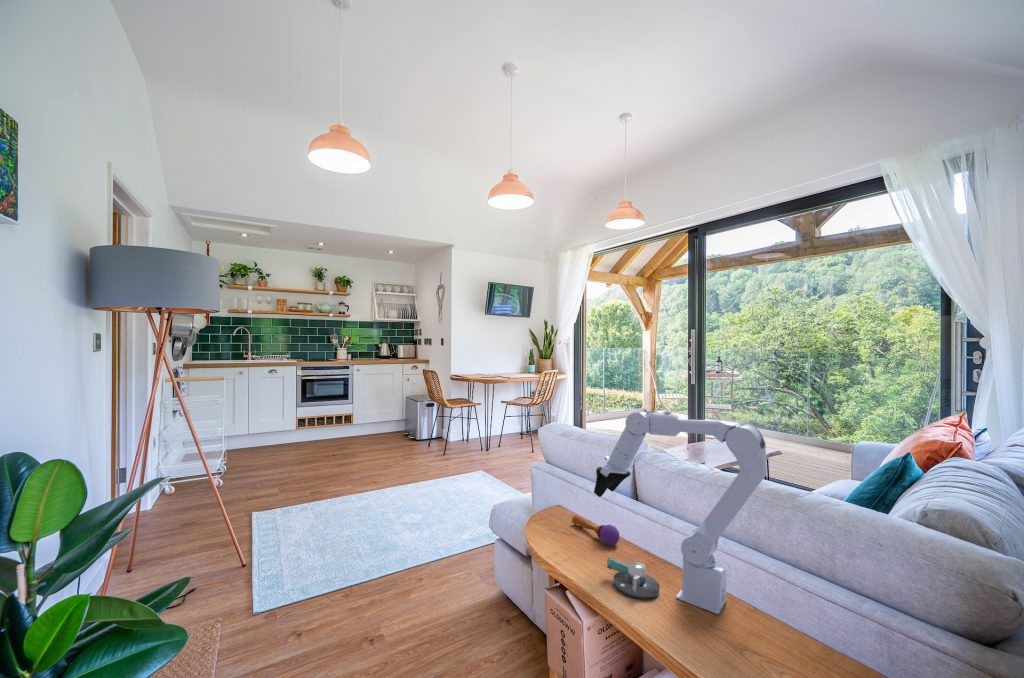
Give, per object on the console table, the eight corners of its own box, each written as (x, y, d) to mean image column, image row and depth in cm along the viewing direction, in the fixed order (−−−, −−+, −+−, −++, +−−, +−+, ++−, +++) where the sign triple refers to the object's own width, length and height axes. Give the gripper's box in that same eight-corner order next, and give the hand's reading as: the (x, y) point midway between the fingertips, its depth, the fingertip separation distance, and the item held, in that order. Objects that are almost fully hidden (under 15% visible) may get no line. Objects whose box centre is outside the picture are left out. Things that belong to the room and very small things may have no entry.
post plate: (665, 587, 107) (666, 569, 107) (649, 605, 98) (650, 585, 99) (624, 572, 114) (625, 555, 114) (605, 587, 105) (606, 569, 106)
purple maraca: (583, 511, 148) (624, 528, 131) (581, 529, 147) (622, 549, 130) (570, 510, 146) (610, 527, 128) (567, 528, 144) (607, 548, 127)
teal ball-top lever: (648, 580, 107) (648, 565, 107) (641, 586, 103) (642, 571, 103) (611, 566, 113) (611, 552, 113) (603, 572, 110) (604, 557, 110)
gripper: (623, 440, 125) (603, 478, 128) (601, 445, 113) (579, 487, 116) (644, 454, 121) (623, 493, 123) (623, 461, 109) (600, 504, 112)
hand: (603, 491), depth 120 cm, fingers open, 7 cm apart
